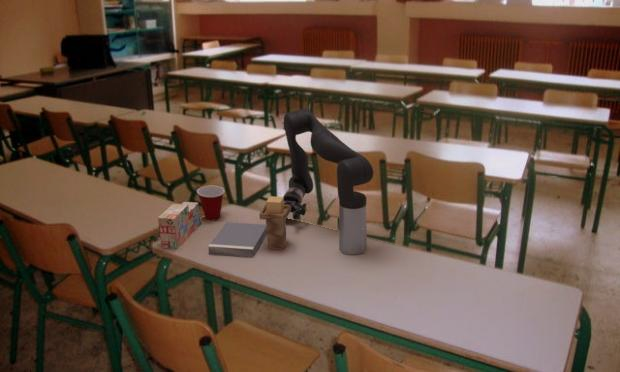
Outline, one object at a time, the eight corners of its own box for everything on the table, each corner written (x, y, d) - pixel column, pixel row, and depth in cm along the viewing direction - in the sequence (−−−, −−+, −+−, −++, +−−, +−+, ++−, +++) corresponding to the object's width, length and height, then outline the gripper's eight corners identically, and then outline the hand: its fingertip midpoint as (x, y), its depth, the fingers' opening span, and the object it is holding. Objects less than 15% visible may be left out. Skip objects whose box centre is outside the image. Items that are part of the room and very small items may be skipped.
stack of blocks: (186, 223, 219) (183, 194, 214) (201, 224, 217) (198, 195, 213) (161, 248, 199) (157, 217, 195) (177, 249, 198) (173, 218, 193)
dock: (267, 231, 209) (267, 224, 208) (253, 257, 191) (252, 249, 190) (227, 229, 212) (226, 221, 211) (209, 254, 194) (208, 246, 193)
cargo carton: (284, 210, 196) (283, 197, 194) (280, 215, 192) (280, 202, 190) (270, 209, 197) (269, 196, 195) (266, 215, 193) (266, 201, 191)
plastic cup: (216, 225, 216) (214, 196, 211) (194, 220, 220) (191, 192, 216) (232, 214, 225) (230, 187, 220) (210, 210, 229) (207, 183, 225)
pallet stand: (292, 240, 202) (290, 205, 197) (286, 251, 194) (285, 215, 189) (268, 238, 204) (266, 203, 199) (261, 250, 196) (259, 213, 191)
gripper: (274, 190, 221) (264, 206, 206) (309, 191, 219) (301, 208, 204) (275, 207, 224) (265, 224, 209) (310, 209, 221) (302, 226, 207)
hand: (283, 216), depth 207 cm, fingers open, 8 cm apart
